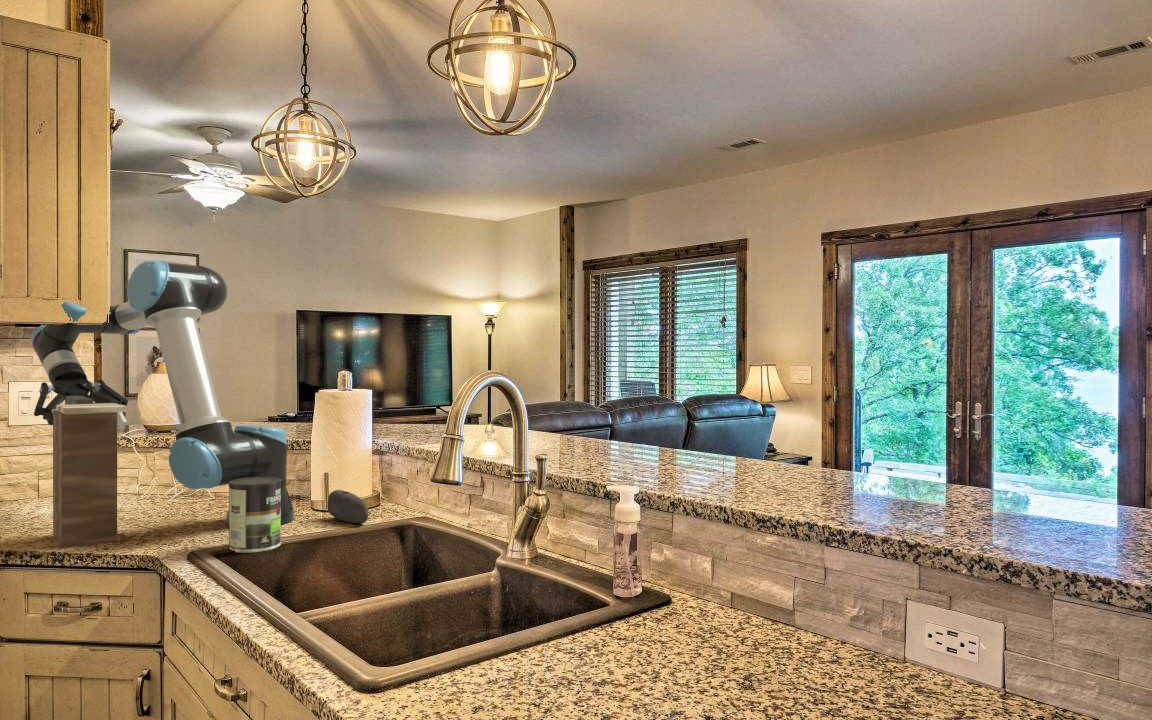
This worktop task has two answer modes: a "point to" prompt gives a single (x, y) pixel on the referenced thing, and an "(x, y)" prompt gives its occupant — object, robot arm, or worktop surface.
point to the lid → (87, 406)
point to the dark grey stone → (347, 507)
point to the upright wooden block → (84, 478)
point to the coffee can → (254, 514)
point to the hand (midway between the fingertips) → (93, 429)
